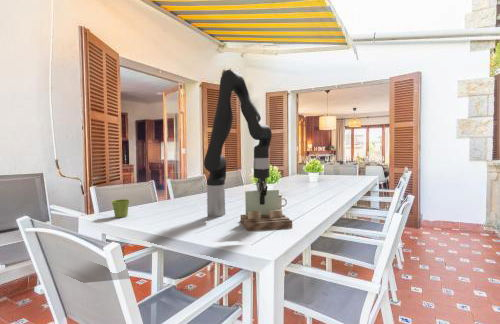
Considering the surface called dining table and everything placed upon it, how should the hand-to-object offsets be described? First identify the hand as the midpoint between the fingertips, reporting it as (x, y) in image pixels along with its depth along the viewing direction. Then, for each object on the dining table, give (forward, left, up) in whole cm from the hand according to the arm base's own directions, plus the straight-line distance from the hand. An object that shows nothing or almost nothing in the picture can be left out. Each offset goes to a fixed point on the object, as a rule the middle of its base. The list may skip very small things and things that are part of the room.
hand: (261, 204), depth 141 cm
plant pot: (-70, +34, -10) cm, 78 cm away
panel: (0, 0, -8) cm, 8 cm away
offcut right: (+5, -6, -8) cm, 11 cm away
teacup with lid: (+15, +27, -10) cm, 32 cm away
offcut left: (-5, -6, -8) cm, 11 cm away
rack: (0, -6, -10) cm, 11 cm away
